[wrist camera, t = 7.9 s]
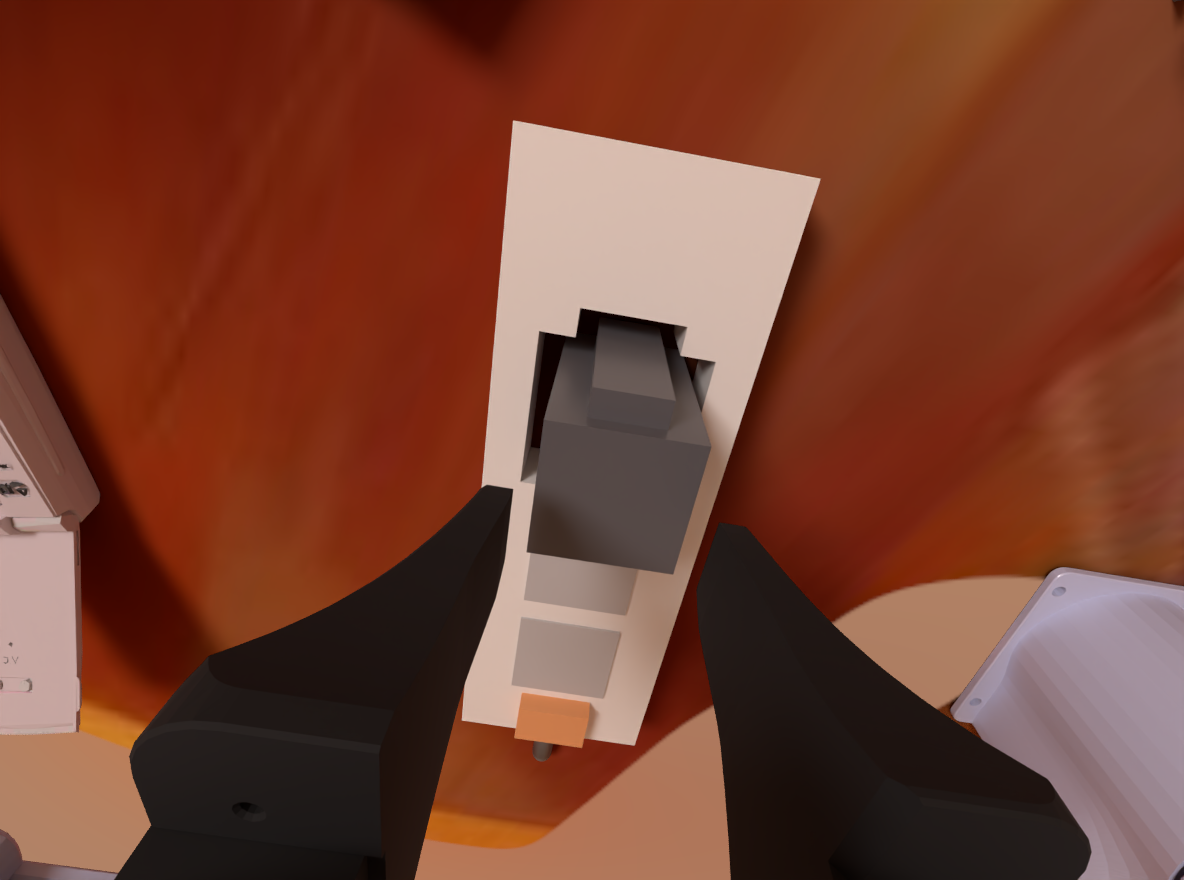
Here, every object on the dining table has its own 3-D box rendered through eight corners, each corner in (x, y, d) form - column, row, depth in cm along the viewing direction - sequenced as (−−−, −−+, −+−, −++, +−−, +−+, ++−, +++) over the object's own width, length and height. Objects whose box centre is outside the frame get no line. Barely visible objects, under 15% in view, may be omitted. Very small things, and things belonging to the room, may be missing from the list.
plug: (657, 449, 21) (673, 574, 15) (553, 432, 21) (526, 552, 15) (687, 327, 19) (720, 416, 13) (570, 308, 19) (547, 388, 13)
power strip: (614, 757, 30) (614, 823, 27) (468, 736, 30) (451, 800, 27) (793, 173, 17) (830, 180, 14) (527, 123, 16) (507, 119, 13)
